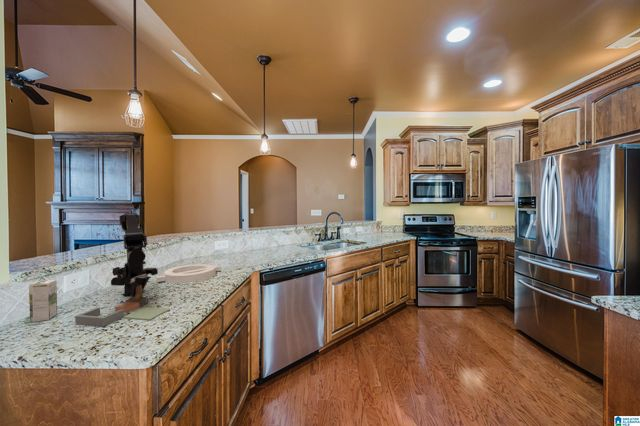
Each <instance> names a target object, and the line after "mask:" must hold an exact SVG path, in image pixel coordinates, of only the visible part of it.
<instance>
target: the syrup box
mask: <svg viewBox="0 0 640 426" xmlns="http://www.w3.org/2000/svg"><path fill="white" fill-rule="evenodd" d="M57 289H58V287H57V279H43V280H37V281H35V282H33V283H31V284H29V285H28V293H29V294H28V295H29V296H28V297H29V298H28V300H29V322H30V323H35V322H43V321H50V320H51V319H53V318H54V317H56V316H57V315H58V291H57Z"/></svg>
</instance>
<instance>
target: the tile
mask: <svg viewBox="0 0 640 426" xmlns="http://www.w3.org/2000/svg"><path fill="white" fill-rule="evenodd" d="M140 307H141V306H140V302H126V301H125V302H124V303H121V304H119V305H116V306H114V312H116V311H118V310H121V309H124V313H129V312H131V311H133V310H135V308H136V309H138V308H140Z"/></svg>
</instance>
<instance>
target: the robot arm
mask: <svg viewBox="0 0 640 426" xmlns="http://www.w3.org/2000/svg"><path fill="white" fill-rule="evenodd" d="M118 221H119V226H121V230H122V232H124V233H125V234H123V248H124V250H126V262H125V263H124V266H123V267H120V266H116V267H113V268H112V272H111V273H112V275H113V276H114V277H112V279H111V280H110V285H111V286H118V287H119V286H120V287H121V286H123V287H124V289H123V291H124V293H122V296H128V297H129V296H130V297H131V296H132V297H135V294H136V288H137V284H140V285H142V293H145V287H146V285H147V284H148V283H149V282H148V281H149V280H150V279H151V278H152V277H151V276H149V274H150V275H152V276H155V275H157V274H158V273H159V271H158V269H157V267H145V268H144V265H146V262H147V261H145V259H146V254H145V252H144V249H143V248H147V246H148V239H147V235H146V234H145V233H144V232H143V231H144V230H143V229H142V228H140V226H139V225H140V224H141V215H140V214H138V213H137V212H125V213H124V214H121V215H119V220H118Z"/></svg>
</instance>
